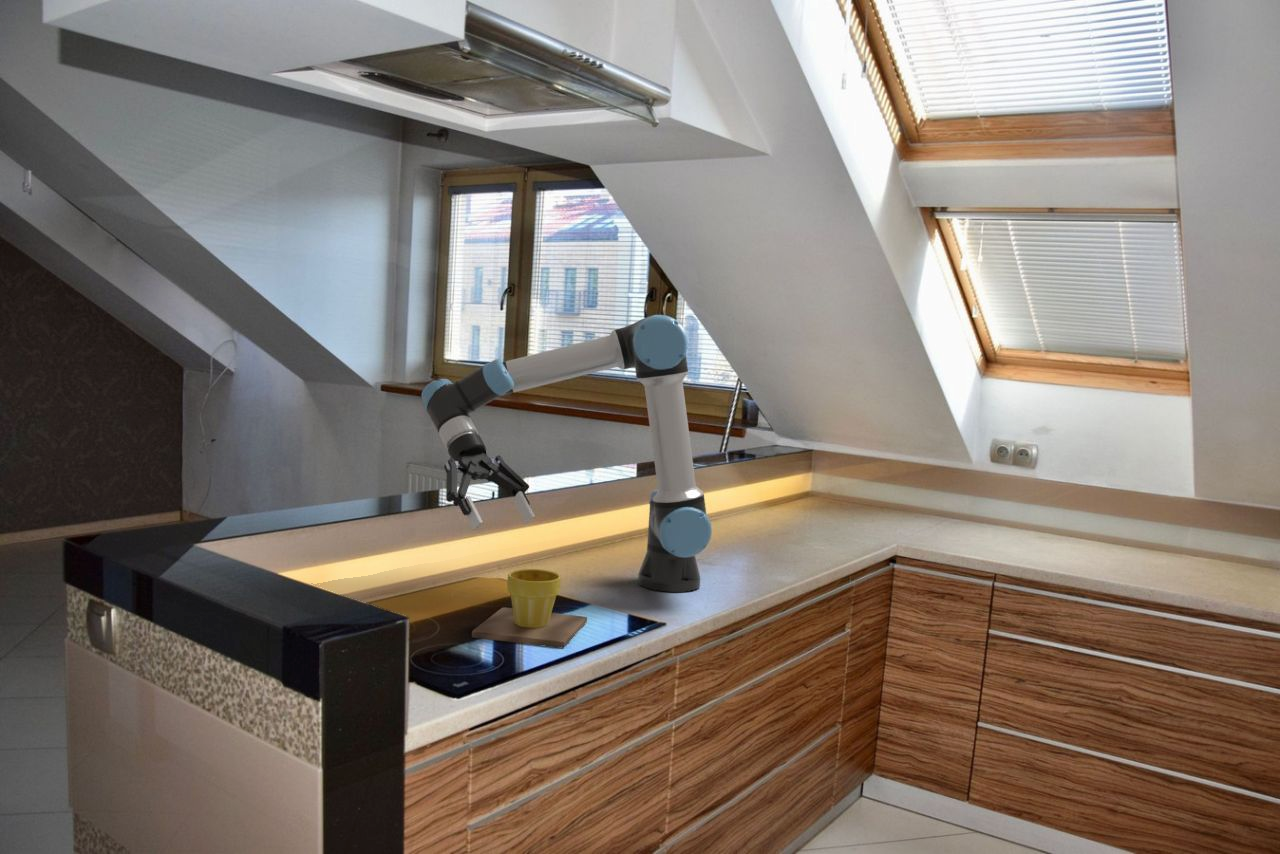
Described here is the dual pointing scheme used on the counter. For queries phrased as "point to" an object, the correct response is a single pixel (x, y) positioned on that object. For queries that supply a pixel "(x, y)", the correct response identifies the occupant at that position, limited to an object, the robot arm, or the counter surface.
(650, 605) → the counter surface
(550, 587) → the plant pot
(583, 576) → the counter surface
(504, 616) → the walnut board
